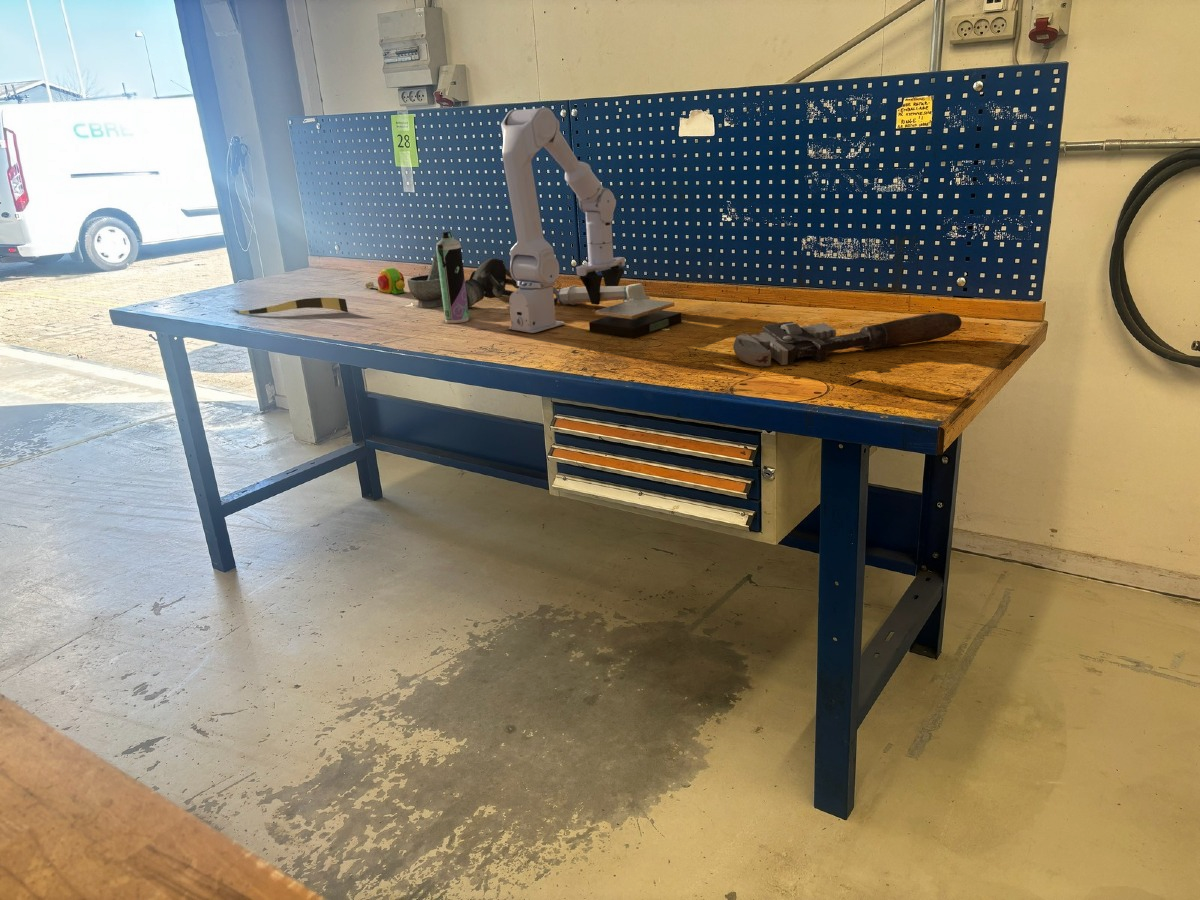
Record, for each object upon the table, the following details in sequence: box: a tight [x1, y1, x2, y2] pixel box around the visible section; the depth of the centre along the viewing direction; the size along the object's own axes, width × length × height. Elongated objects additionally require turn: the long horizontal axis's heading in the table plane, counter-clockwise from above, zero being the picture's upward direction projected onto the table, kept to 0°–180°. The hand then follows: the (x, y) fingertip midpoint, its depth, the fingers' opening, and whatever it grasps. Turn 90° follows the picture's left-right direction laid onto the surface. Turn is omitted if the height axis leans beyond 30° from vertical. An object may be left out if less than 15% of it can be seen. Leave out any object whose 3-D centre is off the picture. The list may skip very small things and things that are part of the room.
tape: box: [232, 297, 349, 315], centre depth 216 cm, size 6×38×4 cm, turn 69°
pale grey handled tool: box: [557, 283, 651, 306], centre depth 198 cm, size 5×7×25 cm
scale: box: [588, 309, 682, 339], centre depth 179 cm, size 16×12×2 cm
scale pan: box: [594, 298, 675, 319], centre depth 178 cm, size 14×10×2 cm
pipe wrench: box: [732, 312, 963, 367], centre depth 154 cm, size 43×13×5 cm, turn 106°
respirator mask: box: [465, 257, 559, 309], centre depth 211 cm, size 20×22×15 cm
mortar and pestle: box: [407, 253, 443, 309], centre depth 213 cm, size 11×9×12 cm
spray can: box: [435, 231, 470, 324], centre depth 192 cm, size 6×6×20 cm
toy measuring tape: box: [364, 267, 406, 295], centre depth 237 cm, size 6×19×7 cm, turn 42°
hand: (603, 301), depth 199 cm, fingers closed on pale grey handled tool, 5 cm apart
